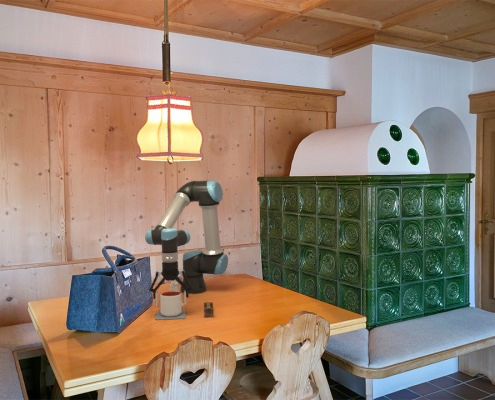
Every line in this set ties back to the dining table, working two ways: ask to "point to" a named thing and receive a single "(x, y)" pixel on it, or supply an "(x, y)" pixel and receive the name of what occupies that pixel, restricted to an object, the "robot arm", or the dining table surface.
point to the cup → (170, 304)
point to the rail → (208, 309)
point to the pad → (161, 317)
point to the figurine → (174, 287)
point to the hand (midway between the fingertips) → (171, 304)
